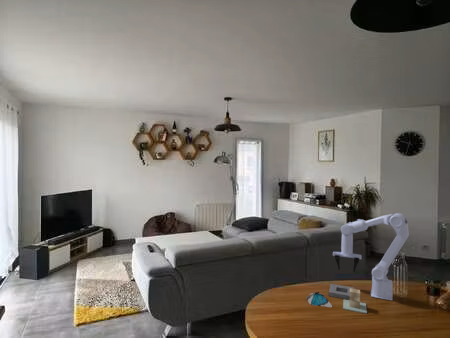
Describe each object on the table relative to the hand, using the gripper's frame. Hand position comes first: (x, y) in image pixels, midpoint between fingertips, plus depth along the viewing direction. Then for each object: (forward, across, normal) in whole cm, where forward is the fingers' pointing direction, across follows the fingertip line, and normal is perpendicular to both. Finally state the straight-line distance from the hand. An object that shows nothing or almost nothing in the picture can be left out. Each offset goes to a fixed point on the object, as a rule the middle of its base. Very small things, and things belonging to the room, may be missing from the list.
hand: (346, 270), depth 162 cm
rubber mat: (+9, +4, -23) cm, 25 cm away
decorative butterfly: (+10, -12, -26) cm, 30 cm away
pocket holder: (+9, -2, -10) cm, 14 cm away
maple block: (+9, +4, -23) cm, 25 cm away
